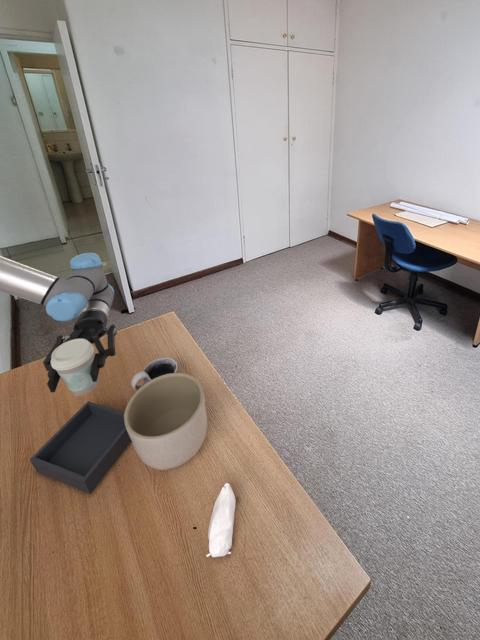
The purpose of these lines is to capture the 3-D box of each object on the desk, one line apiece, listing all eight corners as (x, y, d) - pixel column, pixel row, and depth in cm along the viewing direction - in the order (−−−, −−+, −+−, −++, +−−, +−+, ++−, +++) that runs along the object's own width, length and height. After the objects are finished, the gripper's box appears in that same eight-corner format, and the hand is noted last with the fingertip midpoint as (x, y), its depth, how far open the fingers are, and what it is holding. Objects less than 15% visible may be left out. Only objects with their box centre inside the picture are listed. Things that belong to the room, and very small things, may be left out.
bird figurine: (211, 509, 70) (204, 563, 60) (214, 482, 68) (208, 533, 59) (234, 509, 70) (231, 562, 61) (238, 482, 69) (235, 533, 60)
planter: (225, 435, 83) (218, 393, 76) (167, 498, 70) (153, 455, 64) (182, 401, 92) (173, 362, 85) (124, 452, 79) (108, 411, 72)
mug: (188, 381, 98) (182, 356, 93) (153, 415, 88) (145, 389, 83) (165, 369, 102) (159, 345, 98) (130, 400, 92) (121, 375, 88)
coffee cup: (56, 397, 78) (38, 360, 72) (84, 369, 85) (70, 334, 80) (86, 404, 76) (70, 367, 71) (112, 375, 83) (100, 339, 78)
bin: (36, 472, 75) (29, 459, 73) (93, 412, 88) (88, 400, 86) (90, 494, 71) (84, 481, 69) (140, 428, 84) (136, 416, 82)
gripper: (134, 322, 98) (126, 381, 78) (54, 338, 91) (24, 407, 72) (128, 302, 94) (118, 358, 75) (45, 317, 88) (11, 383, 69)
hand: (72, 382), depth 74 cm, fingers closed on coffee cup, 8 cm apart
